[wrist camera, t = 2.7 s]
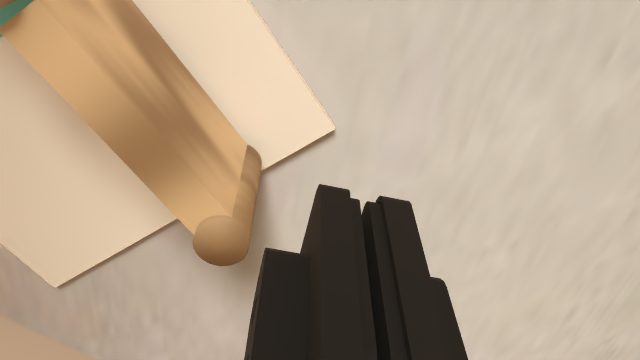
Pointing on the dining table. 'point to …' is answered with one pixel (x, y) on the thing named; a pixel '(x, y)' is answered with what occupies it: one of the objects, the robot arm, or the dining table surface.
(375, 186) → the dining table surface
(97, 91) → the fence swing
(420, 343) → the robot arm
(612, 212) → the dining table surface
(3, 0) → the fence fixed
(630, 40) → the dining table surface
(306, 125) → the card
